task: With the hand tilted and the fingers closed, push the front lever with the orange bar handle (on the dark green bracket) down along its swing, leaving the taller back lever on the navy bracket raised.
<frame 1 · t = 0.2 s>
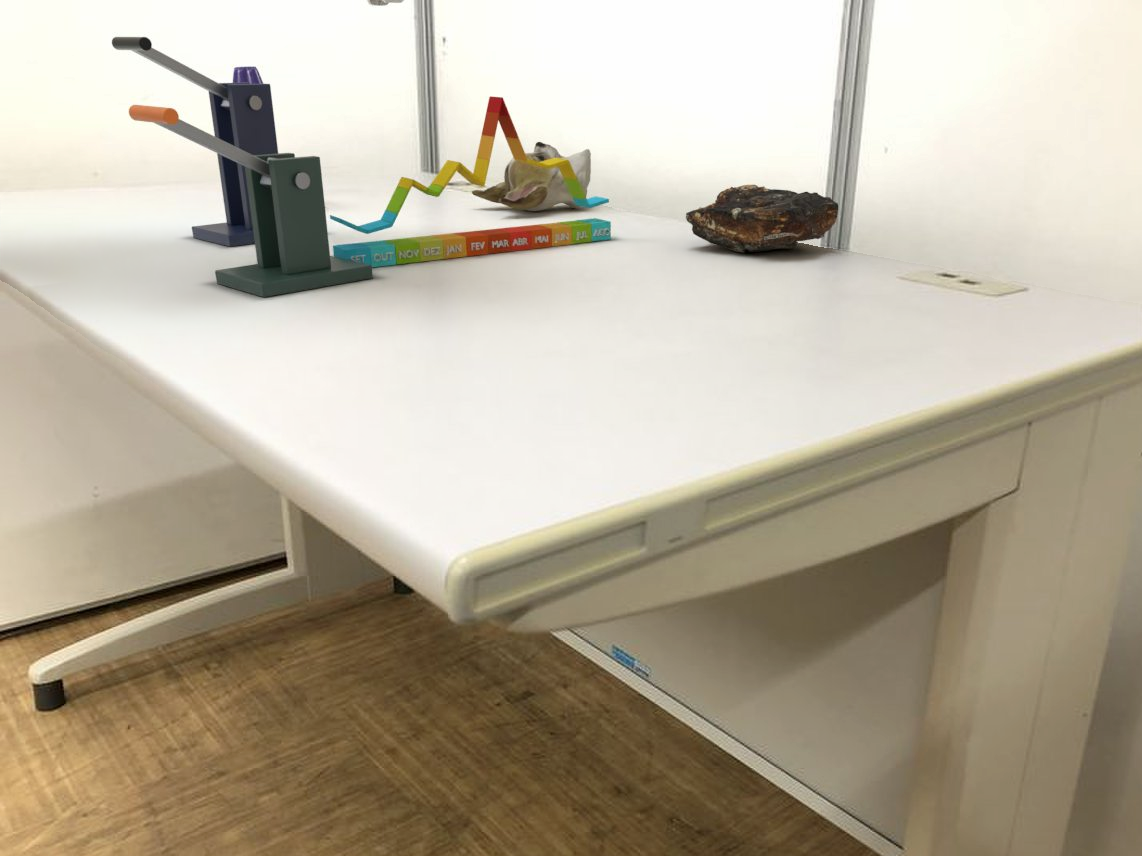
hand: (385, 4, 89), 23 cm above the table, tool pointing down, fingers open, 8 cm apart
back lever: (192, 75, 107), point 17 cm above the table, hinge at 28.0°
ceramic sculpture: (539, 212, 136), on the table
fossil rock: (757, 249, 113), on the table
front lever: (226, 150, 88), point 12 cm above the table, hinge at 28.0°
front bracket: (296, 280, 95), on the table
chart: (482, 253, 109), on the table
back bracket: (258, 235, 117), on the table
toy lamp: (262, 194, 150), on the table
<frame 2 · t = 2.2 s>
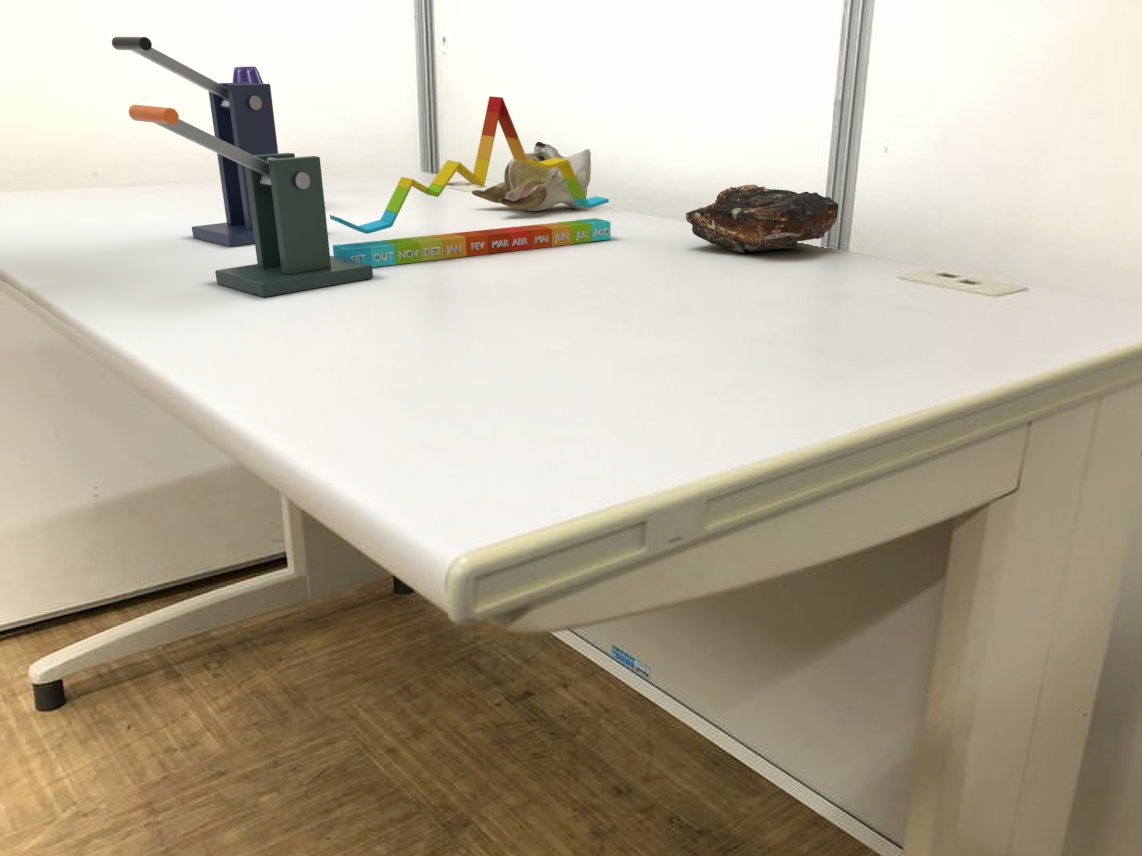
nothing on the table moved.
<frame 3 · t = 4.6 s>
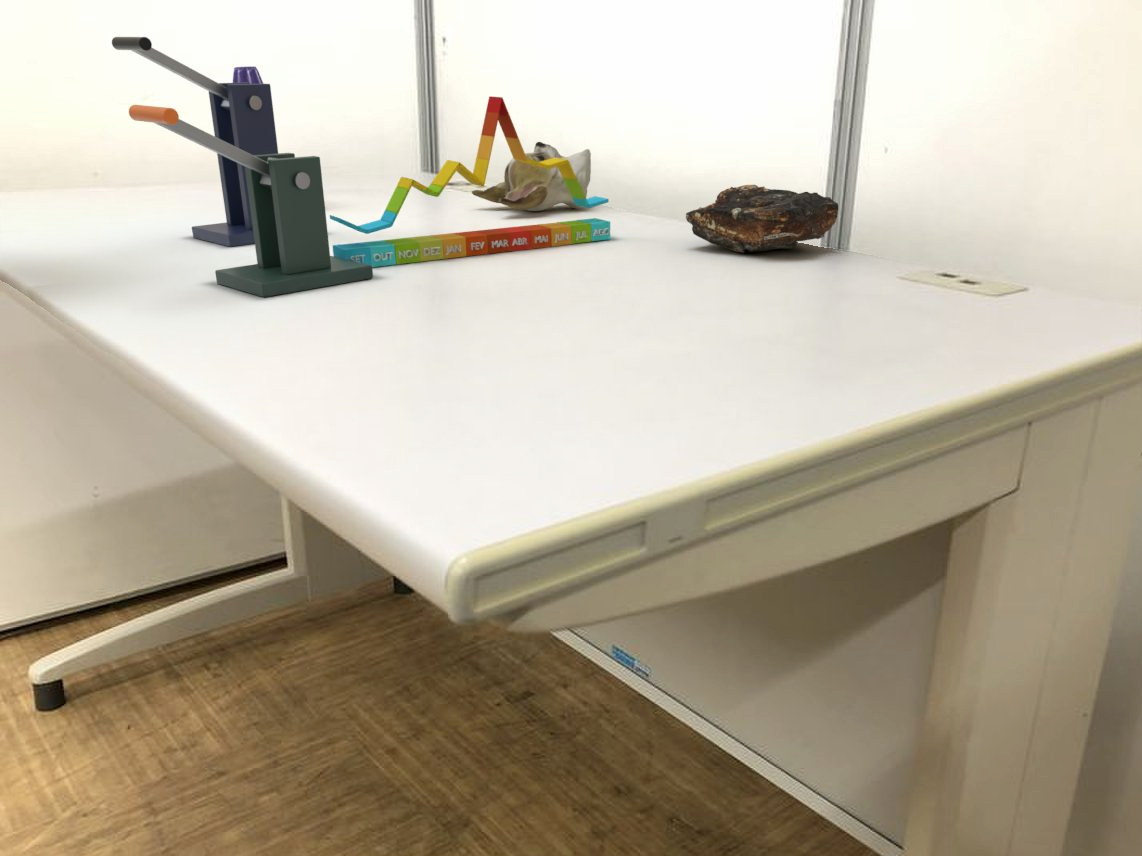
nothing on the table moved.
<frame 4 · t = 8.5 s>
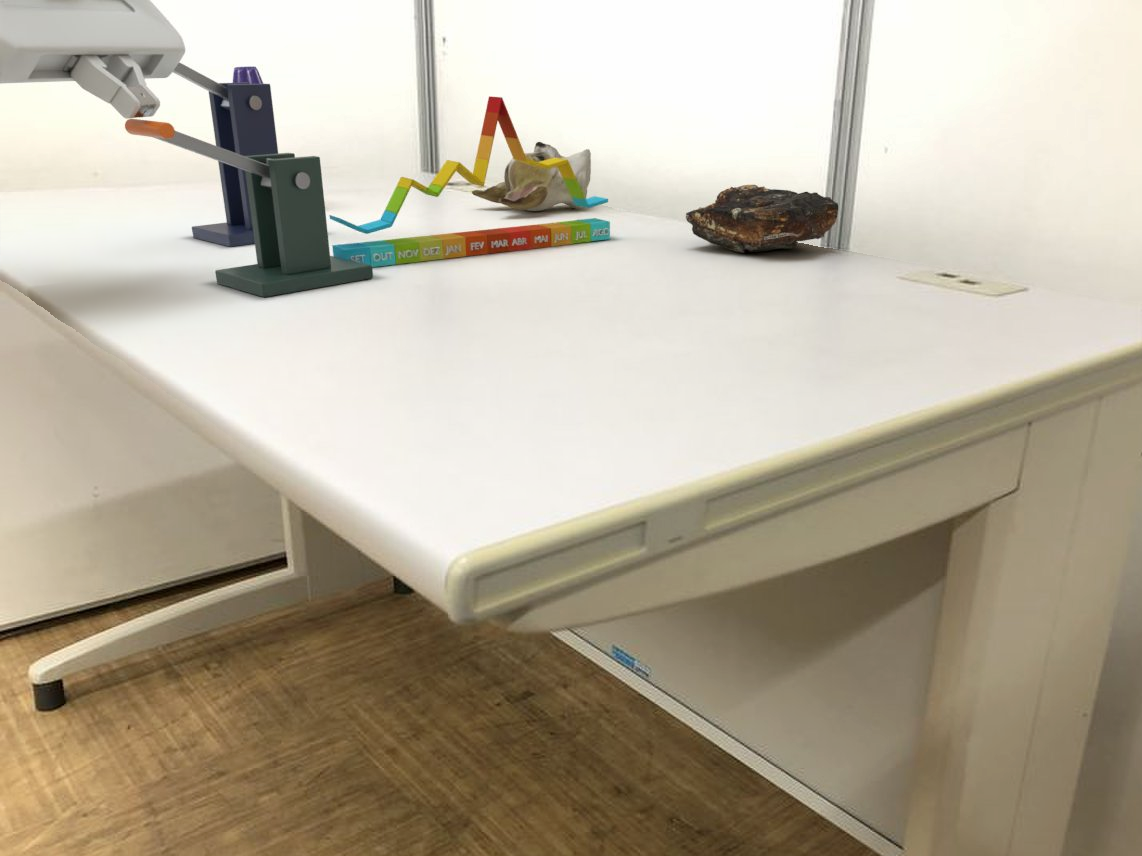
hand: (145, 112, 82), 15 cm above the table, tool tilted 45°, fingers closed
front lever: (224, 156, 88), point 11 cm above the table, hinge at 22.5°, touching gripper
everything else where it was.
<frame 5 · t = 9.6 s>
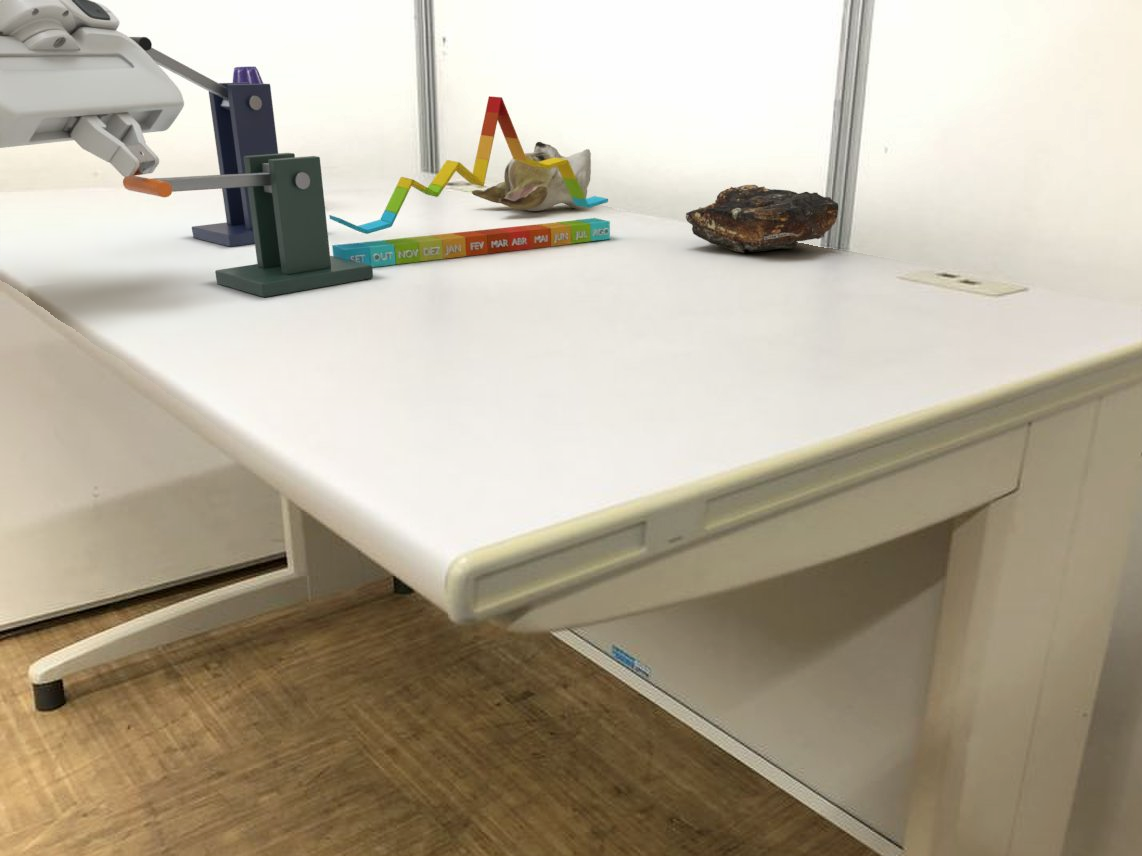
hand: (144, 169, 83), 11 cm above the table, tool tilted 45°, fingers closed
front lever: (223, 181, 88), point 9 cm above the table, hinge at 1.6°, touching gripper
everything else where it was.
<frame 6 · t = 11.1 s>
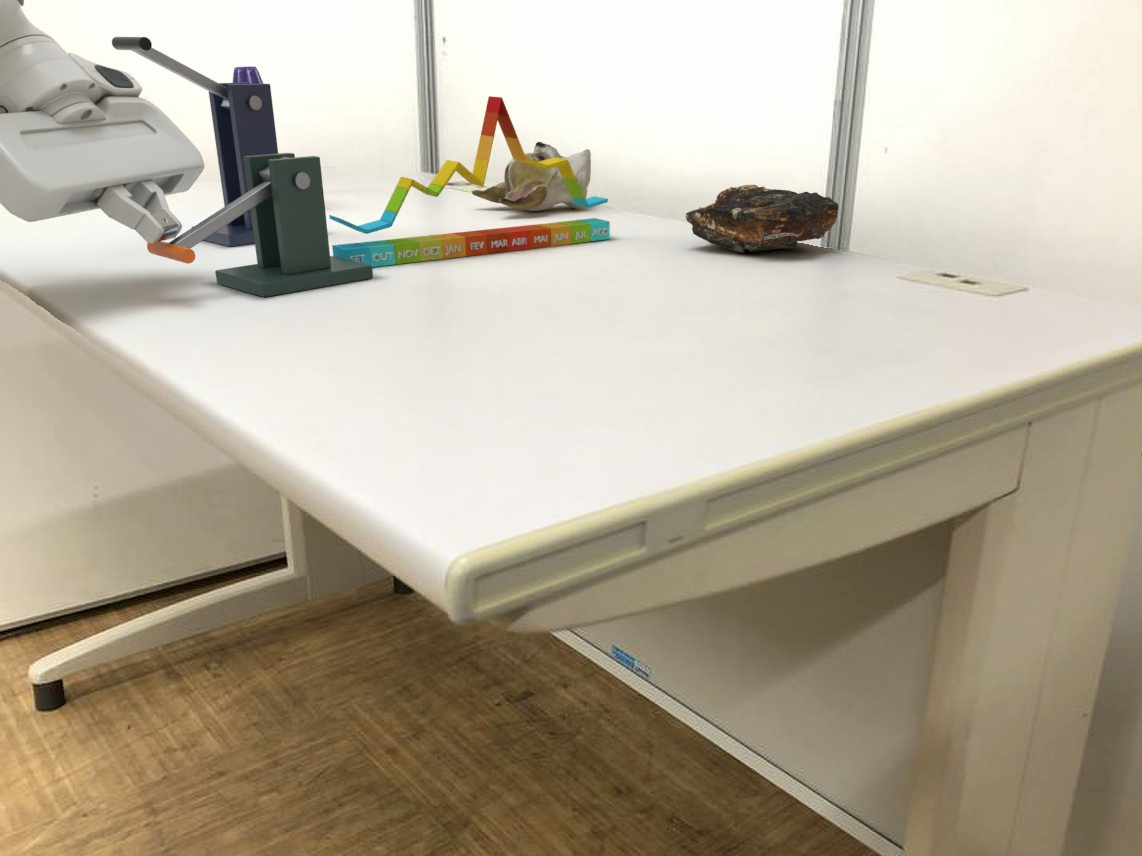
hand: (167, 235, 86), 5 cm above the table, tool tilted 45°, fingers closed
front lever: (233, 210, 89), point 7 cm above the table, hinge at -24.2°, touching gripper
everything else where it was.
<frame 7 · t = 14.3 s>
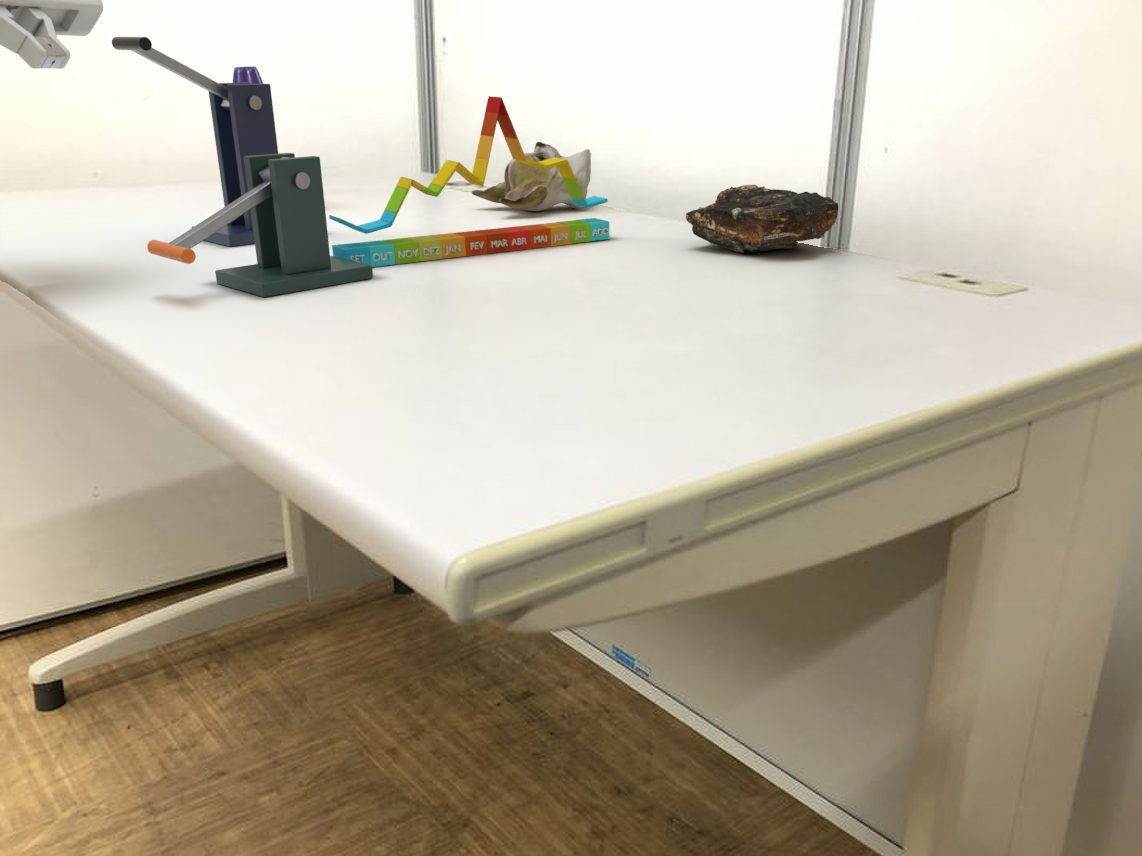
hand: (53, 62, 83), 18 cm above the table, tool tilted 45°, fingers closed
front lever: (233, 211, 89), point 7 cm above the table, hinge at -24.4°
everything else where it was.
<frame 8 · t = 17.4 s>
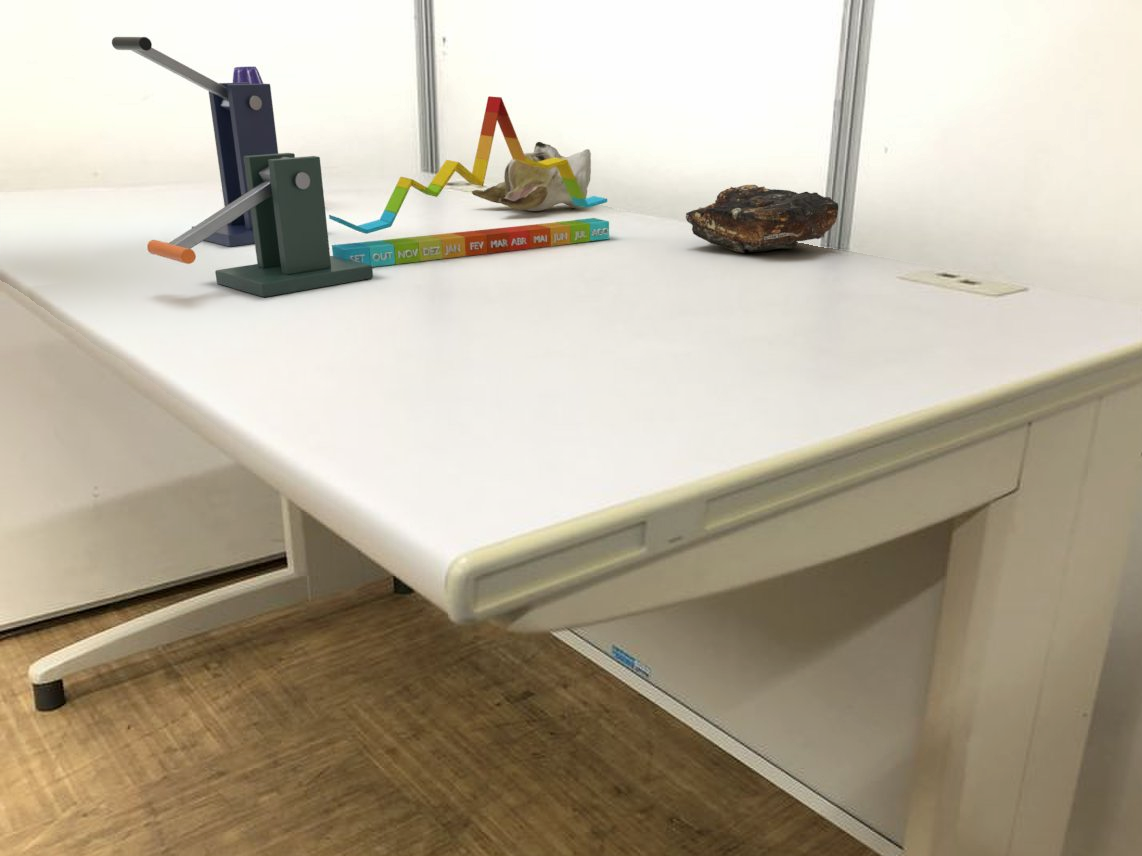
nothing on the table moved.
at the end: front lever at -24° (first picture: +28°); back lever at +28° (first picture: +28°) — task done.
